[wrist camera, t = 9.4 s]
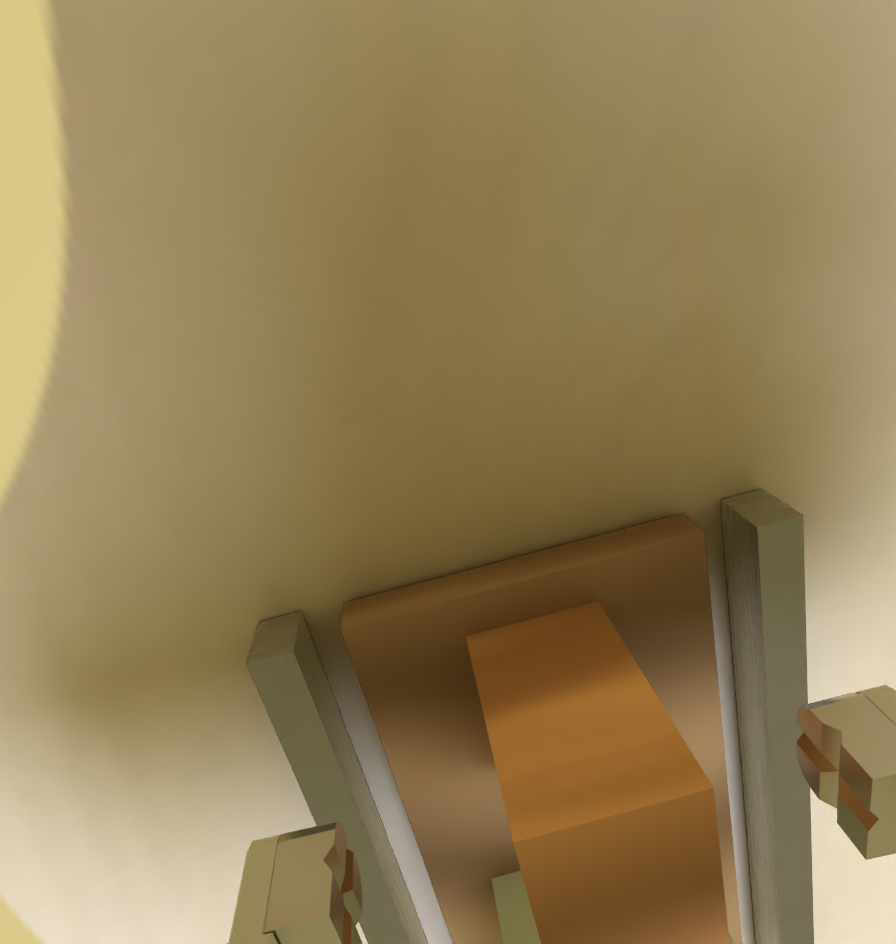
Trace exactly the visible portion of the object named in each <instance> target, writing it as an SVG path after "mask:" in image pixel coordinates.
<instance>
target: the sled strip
mask: <svg viewBox="0 0 896 944" xmlns="http://www.w3.org/2000/svg"><path fill="white" fill-rule="evenodd" d="M341 631H342V634H343V637H344V639H345V642H346V645H347V648H348V651H349V653H350V656H351V659H352V662H353V665H354V667H355V670H356V673H357V676H358V679H359V681H360V684H361V687H362V690H363V693H364V695H365V698H366V701H367V704H368V707H369V709H370V712H371V715H372V718H373V721H374V723H375V726H376V729H377V732H378V734H379V737H380V740H381V743H382V746H383V748H384V751H385V754H386V757H387V760H388V762H389V765H390V768H391V771H392V774H393V776H394V779H395V782H396V785H397V788H398V790H399V793H400V796H401V799H402V802H403V804H404V807H405V810H406V813H407V815H408V818H409V821H410V824H411V827H412V829H413V832H414V835H415V838H416V841H417V843H418V846H419V849H420V852H421V855H422V857H423V860H424V863H425V866H426V869H427V871H428V874H429V877H430V880H431V883H432V885H433V888H434V891H435V894H436V897H437V899H438V902H439V905H440V908H441V910H442V913H443V916H444V919H445V922H446V924H447V927H448V930H449V933H450V936H451V938H452V941H453V944H503V940H502V934H501V929H500V923H499V918H498V913H497V907H496V902H495V896H494V891H493V885H492V880H491V879H492V878H496V877H499V876H503V875H507V874H510V873H514V872H518V871H521V873H522V876H523V880H524V883H525V887H526V891H527V894H528V898H529V902H530V905H531V909H532V912H533V916H534V920H535V923H536V927H537V930H538V934H539V938H540V941H541V944H730V941H729V934H730V936H731V938H732V940H733V942H734V944H742V936H741V926H740V915H739V904H738V893H737V882H736V871H735V860H734V849H733V838H732V827H731V817H730V806H729V795H728V784H727V773H726V762H725V751H724V740H723V729H722V718H721V708H720V697H719V686H718V675H717V664H716V653H715V642H714V631H713V620H712V609H711V599H710V588H709V577H708V566H707V555H706V544H705V533H704V531H702V530H701V529H700V528H699V527H698V526H697V525H696V524H695V523H693V522H692V521H691V520H690V519H689V518H688V517H687V516H686V515H684V514H683V513H682V514H678V515H674V516H670V517H667V518H663V519H659V520H655V521H651V522H648V523H644V524H640V525H636V526H633V527H629V528H625V529H621V530H617V531H614V532H610V533H606V534H602V535H599V536H595V537H591V538H587V539H583V540H580V541H576V542H572V543H568V544H565V545H561V546H557V547H553V548H550V549H546V550H542V551H538V552H534V553H531V554H527V555H523V556H519V557H516V558H512V559H508V560H504V561H500V562H497V563H493V564H489V565H485V566H482V567H478V568H474V569H470V570H466V571H463V572H459V573H455V574H451V575H448V576H444V577H440V578H436V579H432V580H429V581H425V582H421V583H417V584H414V585H410V586H406V587H402V588H398V589H395V590H391V591H387V592H383V593H380V594H376V595H372V596H368V597H364V598H361V599H357V600H353V601H349V602H346V603H343V608H342V620H341Z"/></svg>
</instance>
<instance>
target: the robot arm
mask: <svg viewBox="0 0 896 944" xmlns="http://www.w3.org/2000/svg"><path fill="white" fill-rule="evenodd" d="M796 723H797V724H798V726H799V727H800V728H801V729H802V730H803V734H802V735H801V736H800V738H799V739H798V740H797V742H796V753H797V759H798V762H799V765H800V768H801V771H802V774H803V776H804V777H805V779H806V781H807V783H808V785H809V786H810V788H811V789H812V790H813V792H814V793H815V794H816V796H817V797H818V798H819V799H820V800H822V801H824V802H825V803H827V804H829V805H831V806H833V807H835V808H837V823H838V824H839V826H840V827H841V828H842V829H843V831H844V832H845V833H846V835H847V836H848V837H849V838H850V840H851V841H852V842H853V844H854V845H855V846H856V847H857V849H858V850H859V851H860V853H861V854H862V855H863V856H864V858H865V859H866V860H867V859H872V858H876V857H881V856H885V855H890V854H894V853H896V691H895V690H894V689H893V688H890V687H888V686H886V685H883V686H879V687H875V688H871V689H867V690H863V691H859V692H856V693H849V694H845V695H841V696H837V697H834V698H830V699H826V700H822V701H818V702H815V703H811V704H807V705H803V706H800V708H799V709H798V711H797V722H796ZM346 838H347V834H346V832H345V830H344V828H343V825H342V823H341V822H335V823H330V824H326V825H321V826H317V827H312V828H308V829H303V830H298V831H294V832H289V833H285V834H281V835H277V836H272V837H268V838H264V839H259V840H255V841H252V843H251V845H250V847H249V849H248V851H247V855H246V860H245V865H244V870H243V875H242V880H241V884H240V889H239V894H238V899H237V904H236V909H235V914H234V919H233V924H232V929H231V934H230V939H229V943H227V944H362V941H361V939H360V936H359V934H358V932H357V929H356V927H355V926H356V924H357V923H358V921H359V919H360V917H361V916H362V886H361V877H360V872H359V868H358V863H357V860H356V858H355V855H354V852H352V851H350V850H348V849H346Z"/></svg>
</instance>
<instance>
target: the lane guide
mask: <svg viewBox="0 0 896 944" xmlns="http://www.w3.org/2000/svg"><path fill="white" fill-rule="evenodd" d="M721 512H722V525H723V537H724V550H725V563H726V575H727V588H728V600H729V613H730V626H731V638H732V651H733V664H734V676H735V689H736V701H737V714H738V727H739V739H740V752H741V764H742V777H743V790H744V802H745V815H746V828H747V840H748V853H749V865H750V878H751V891H752V903H753V916H754V929H755V941H756V944H814V929H813V890H812V851H811V811H810V786H809V785H808V783H807V781H806V779H805V777H804V776H803V774H802V771H801V768H800V765H799V762H798V759H797V753H796V742H797V740H798V739H799V738H800V736H801V735H802V734H803V730H802V729H801V728H800V727H799V726H798V724H797V723H796V722H797V711H798V709H799V708H800V706H803V705H807V704H808V694H807V655H806V616H805V577H804V538H803V515H802V514H800V513H799V512H797V511H795V510H794V509H792V508H791V507H789V506H788V505H786V504H785V503H783V502H782V501H780V500H778V499H777V498H775V497H774V496H772V495H771V494H769V493H768V492H766V491H765V490H763V489H759V490H755V491H751V492H747V493H744V494H740V495H736V496H732V497H729V498H725V499H721ZM246 664H247V667H248V669H249V671H250V673H251V676H252V678H253V680H254V683H255V685H256V687H257V689H258V692H259V694H260V696H261V699H262V701H263V703H264V706H265V708H266V710H267V712H268V715H269V717H270V719H271V722H272V724H273V726H274V728H275V731H276V733H277V735H278V738H279V740H280V742H281V744H282V747H283V749H284V751H285V754H286V756H287V758H288V761H289V763H290V765H291V767H292V770H293V772H294V774H295V777H296V779H297V781H298V783H299V786H300V788H301V790H302V793H303V795H304V797H305V800H306V802H307V804H308V806H309V809H310V811H311V813H312V816H313V818H314V820H315V822H316V825H317V826H321V825H326V824H330V823H335V822H341V823H342V825H343V828H344V830H345V832H346V834H347V838H346V849H348V850H350V851H352V852H354V855H355V858H356V860H357V863H358V868H359V872H360V877H361V886H362V916H361V917H360V919H359V923H360V926H361V928H362V930H363V932H364V935H365V937H366V939H367V942H368V944H428V942H427V940H426V937H425V934H424V932H423V929H422V926H421V924H420V921H419V919H418V916H417V913H416V911H415V908H414V905H413V903H412V900H411V898H410V895H409V892H408V890H407V887H406V884H405V882H404V879H403V877H402V874H401V871H400V869H399V866H398V863H397V861H396V858H395V856H394V853H393V850H392V848H391V845H390V842H389V840H388V837H387V835H386V832H385V829H384V827H383V824H382V821H381V819H380V816H379V814H378V811H377V808H376V806H375V803H374V801H373V798H372V795H371V793H370V790H369V787H368V785H367V782H366V780H365V777H364V774H363V772H362V769H361V766H360V764H359V761H358V759H357V756H356V753H355V751H354V748H353V745H352V743H351V740H350V738H349V735H348V732H347V730H346V727H345V724H344V722H343V719H342V717H341V714H340V711H339V709H338V706H337V703H336V701H335V698H334V696H333V693H332V690H331V688H330V685H329V682H328V680H327V677H326V675H325V672H324V669H323V667H322V664H321V662H320V659H319V656H318V654H317V651H316V648H315V646H314V643H313V641H312V638H311V635H310V633H309V630H308V627H307V625H306V622H305V620H304V617H303V614H302V612H301V611H298V612H294V613H290V614H287V615H283V616H279V617H275V618H271V619H268V620H264V621H260V622H258V625H257V629H256V632H255V635H254V639H253V642H252V645H251V649H250V652H249V655H248V659H247V662H246Z"/></svg>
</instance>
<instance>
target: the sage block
mask: <svg viewBox="0 0 896 944" xmlns="http://www.w3.org/2000/svg"><path fill="white" fill-rule="evenodd" d="M491 880H492V885H493V891H494V896H495V902H496V907H497V913H498V918H499V923H500V929H501V934H502V940H503V944H541V941H540V938H539V934H538V930H537V927H536V923H535V920H534V916H533V912H532V909H531V905H530V902H529V898H528V894H527V891H526V887H525V883H524V880H523V876H522V873H521V871H518V872H514V873H510V874H507V875H503V876H499V877H496V878H492V879H491ZM729 941H730V944H734V942H733V940H732V938H731V936H730V934H729Z"/></svg>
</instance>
